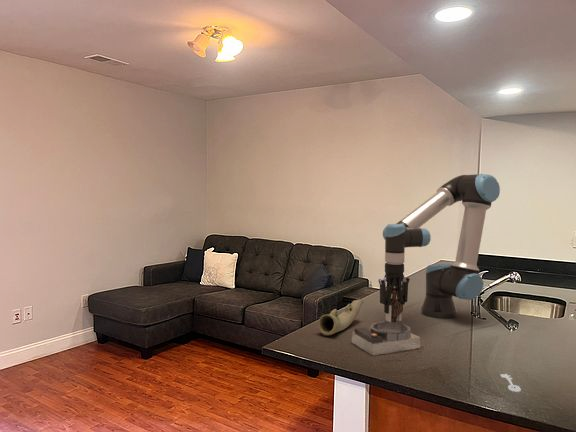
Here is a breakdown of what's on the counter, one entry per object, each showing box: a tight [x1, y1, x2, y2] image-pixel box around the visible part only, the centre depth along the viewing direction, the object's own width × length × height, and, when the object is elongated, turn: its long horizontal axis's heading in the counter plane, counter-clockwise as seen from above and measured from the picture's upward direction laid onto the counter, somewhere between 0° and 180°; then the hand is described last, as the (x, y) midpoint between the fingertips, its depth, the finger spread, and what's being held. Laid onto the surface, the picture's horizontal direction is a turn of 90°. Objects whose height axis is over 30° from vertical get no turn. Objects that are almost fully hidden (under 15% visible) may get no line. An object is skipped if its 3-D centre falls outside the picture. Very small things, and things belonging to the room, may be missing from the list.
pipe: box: [317, 299, 364, 336], centre depth 181 cm, size 28×8×10 cm, turn 148°
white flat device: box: [351, 320, 421, 357], centre depth 161 cm, size 20×14×6 cm
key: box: [500, 373, 522, 393], centre depth 130 cm, size 12×1×3 cm
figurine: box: [390, 287, 403, 322], centre depth 176 cm, size 7×5×18 cm
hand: (393, 320), depth 177 cm, fingers open, 4 cm apart
